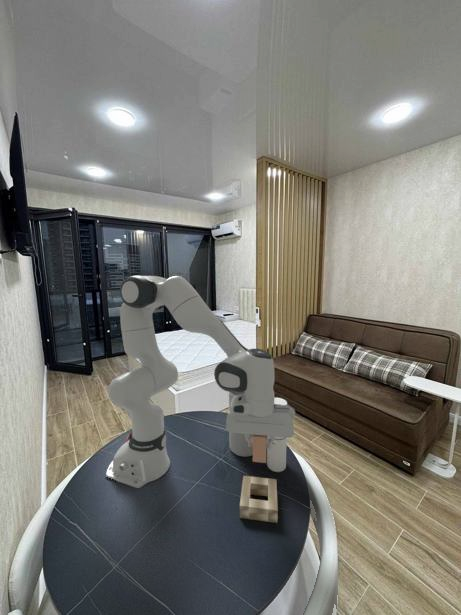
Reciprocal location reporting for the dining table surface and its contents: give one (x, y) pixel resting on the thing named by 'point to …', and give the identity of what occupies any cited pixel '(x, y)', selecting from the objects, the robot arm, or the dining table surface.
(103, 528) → the dining table surface
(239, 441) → the cylinder vase
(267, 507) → the socket block
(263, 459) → the peg
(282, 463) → the cylindrical container
